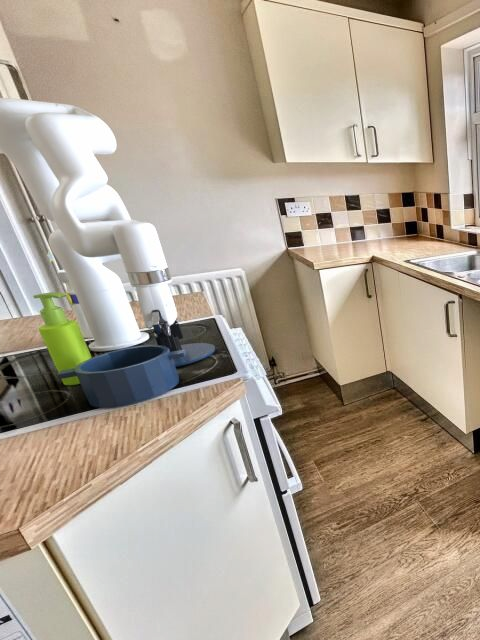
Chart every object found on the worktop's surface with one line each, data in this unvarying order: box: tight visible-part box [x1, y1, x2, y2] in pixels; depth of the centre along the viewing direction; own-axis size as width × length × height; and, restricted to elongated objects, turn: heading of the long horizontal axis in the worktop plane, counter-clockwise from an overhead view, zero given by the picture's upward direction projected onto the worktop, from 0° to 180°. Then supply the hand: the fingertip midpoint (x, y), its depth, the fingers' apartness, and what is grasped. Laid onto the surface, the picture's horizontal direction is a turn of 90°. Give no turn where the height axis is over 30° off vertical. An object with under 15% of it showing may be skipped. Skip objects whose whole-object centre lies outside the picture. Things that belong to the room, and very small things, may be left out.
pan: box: [57, 344, 186, 409], centre depth 88 cm, size 15×20×8 cm
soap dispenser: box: [33, 291, 93, 386], centre depth 92 cm, size 6×7×20 cm
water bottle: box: [46, 250, 94, 339], centre depth 121 cm, size 8×9×25 cm
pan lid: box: [173, 336, 216, 368], centre depth 104 cm, size 16×16×6 cm
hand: (172, 345), depth 104 cm, fingers open, 9 cm apart
